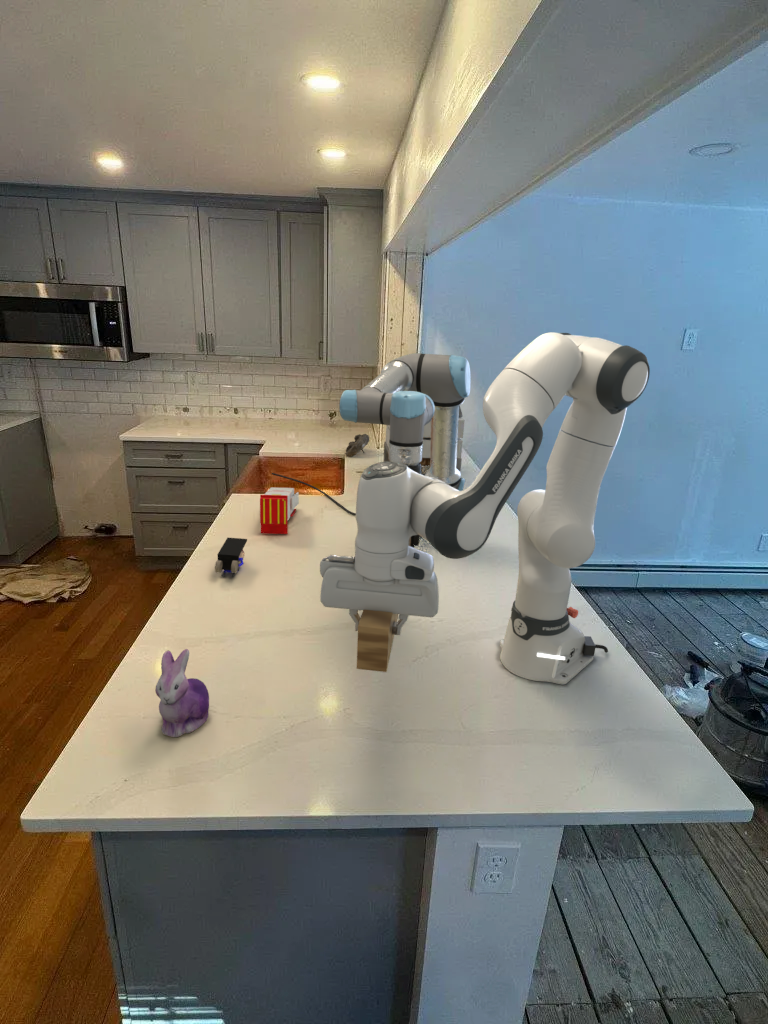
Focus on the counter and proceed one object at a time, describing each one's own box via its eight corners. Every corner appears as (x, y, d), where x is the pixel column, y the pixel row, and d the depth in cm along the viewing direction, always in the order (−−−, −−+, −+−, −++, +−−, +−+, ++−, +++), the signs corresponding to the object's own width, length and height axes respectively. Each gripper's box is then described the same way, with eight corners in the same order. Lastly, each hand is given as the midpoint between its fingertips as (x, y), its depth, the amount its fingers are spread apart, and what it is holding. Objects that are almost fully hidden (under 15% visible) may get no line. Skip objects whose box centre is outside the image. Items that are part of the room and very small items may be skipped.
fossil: (345, 440, 316) (366, 424, 311) (356, 453, 319) (377, 438, 314) (339, 453, 297) (361, 437, 292) (350, 467, 300) (373, 452, 295)
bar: (392, 545, 143) (394, 514, 140) (412, 547, 142) (414, 516, 140) (356, 668, 94) (357, 625, 91) (386, 672, 93) (388, 629, 90)
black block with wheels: (238, 584, 162) (249, 557, 175) (236, 562, 158) (247, 536, 172) (215, 584, 161) (227, 556, 175) (212, 561, 158) (225, 535, 171)
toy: (300, 483, 219) (290, 497, 190) (300, 516, 222) (290, 535, 192) (269, 482, 219) (254, 495, 189) (269, 515, 221) (254, 534, 192)
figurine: (162, 747, 100) (154, 675, 95) (155, 711, 109) (147, 644, 103) (217, 731, 104) (212, 662, 99) (206, 698, 113) (201, 633, 108)
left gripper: (362, 463, 125) (359, 559, 133) (444, 469, 123) (436, 566, 131) (367, 454, 132) (364, 546, 140) (445, 460, 130) (438, 553, 138)
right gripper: (315, 561, 92) (315, 635, 97) (441, 572, 90) (435, 647, 95) (324, 546, 98) (324, 616, 103) (442, 556, 96) (436, 627, 101)
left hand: (399, 555), depth 135 cm, fingers closed on bar, 5 cm apart
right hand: (378, 631), depth 99 cm, fingers closed on bar, 5 cm apart
